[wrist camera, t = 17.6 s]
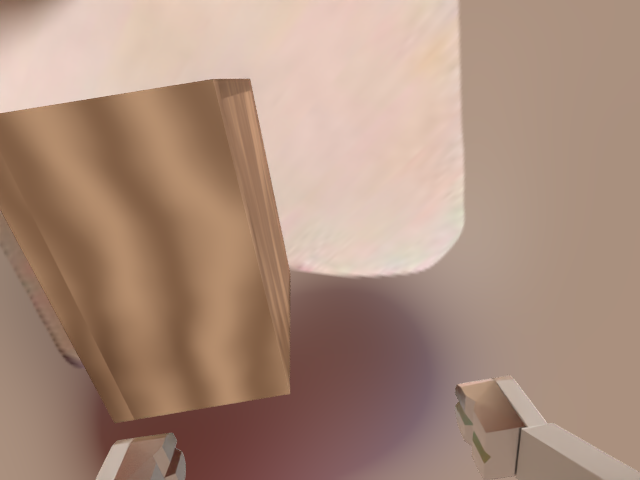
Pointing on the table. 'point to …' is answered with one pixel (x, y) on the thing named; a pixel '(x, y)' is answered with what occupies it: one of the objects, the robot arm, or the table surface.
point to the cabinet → (155, 242)
